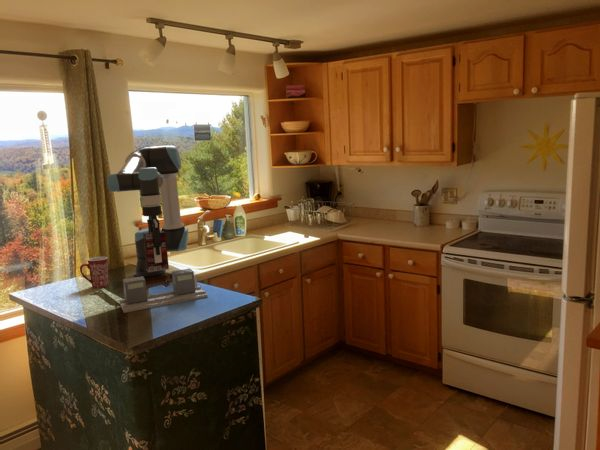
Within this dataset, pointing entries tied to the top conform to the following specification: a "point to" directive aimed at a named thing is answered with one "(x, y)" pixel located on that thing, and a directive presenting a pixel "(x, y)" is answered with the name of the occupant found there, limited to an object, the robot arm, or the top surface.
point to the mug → (97, 271)
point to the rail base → (181, 292)
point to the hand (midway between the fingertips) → (157, 261)
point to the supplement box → (149, 253)
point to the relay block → (195, 281)
